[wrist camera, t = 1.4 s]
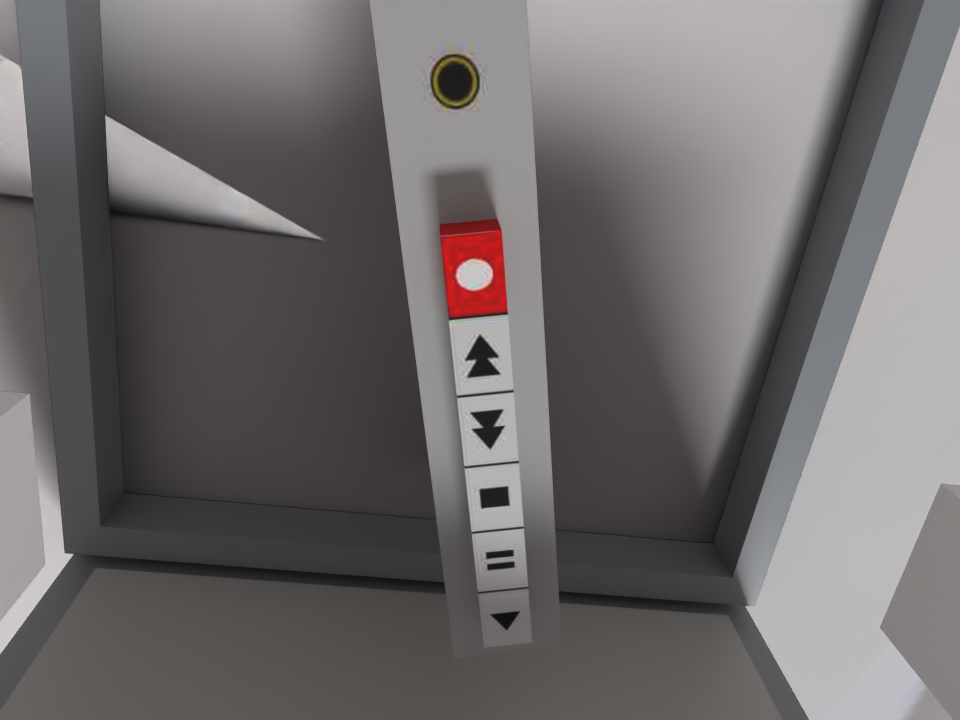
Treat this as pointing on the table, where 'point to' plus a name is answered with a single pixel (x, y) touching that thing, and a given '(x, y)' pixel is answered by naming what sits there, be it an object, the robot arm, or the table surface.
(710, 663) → the equipment case
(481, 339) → the cassette player
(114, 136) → the table surface
